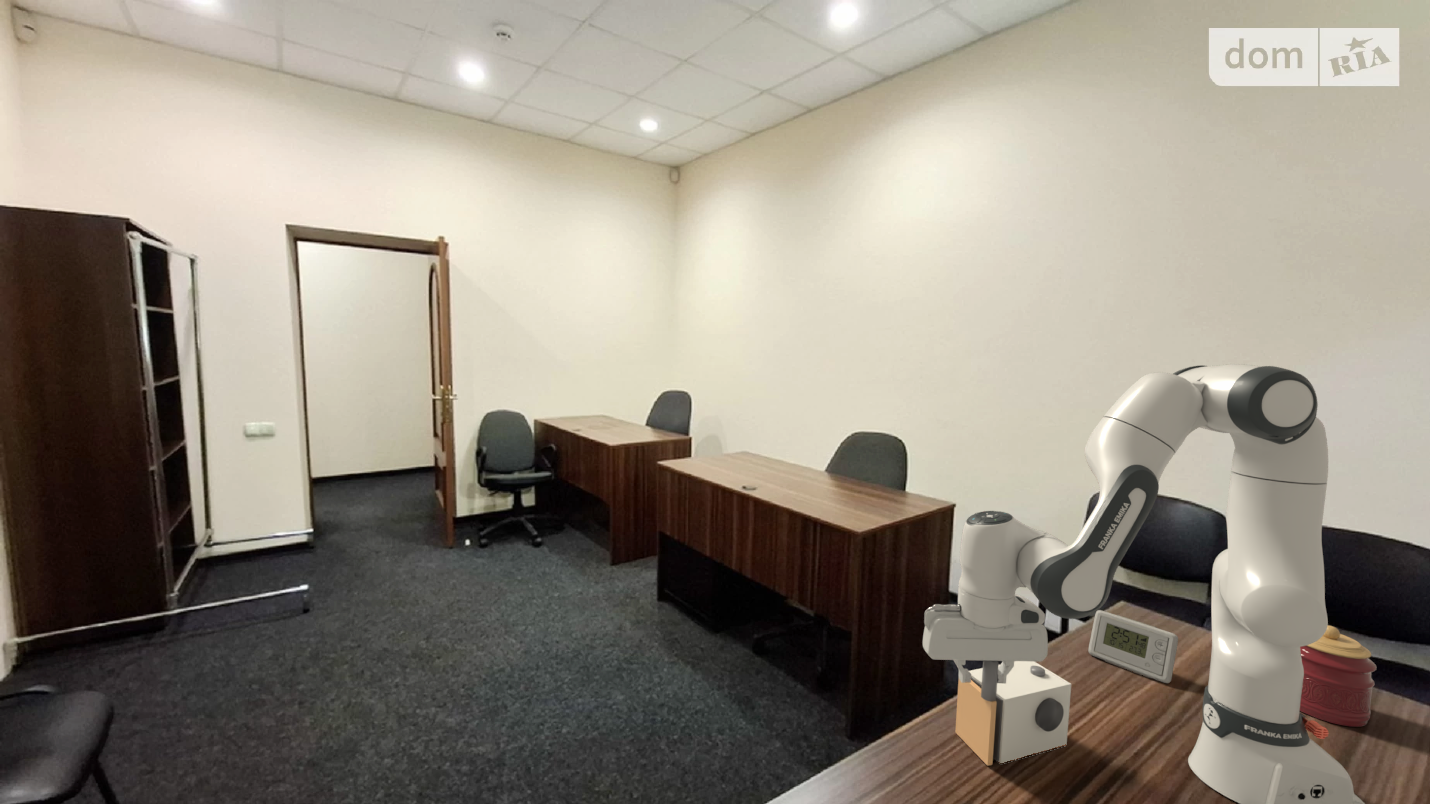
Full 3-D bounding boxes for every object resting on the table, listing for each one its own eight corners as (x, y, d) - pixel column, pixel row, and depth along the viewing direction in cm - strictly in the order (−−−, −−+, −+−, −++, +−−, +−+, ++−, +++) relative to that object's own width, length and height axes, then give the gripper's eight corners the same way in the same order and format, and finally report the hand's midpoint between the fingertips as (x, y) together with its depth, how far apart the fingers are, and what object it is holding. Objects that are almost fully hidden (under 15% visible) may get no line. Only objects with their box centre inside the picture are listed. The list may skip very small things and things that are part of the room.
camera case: (1025, 715, 112) (1029, 654, 111) (1071, 749, 102) (1076, 682, 101) (960, 731, 107) (964, 667, 105) (1003, 769, 97) (1008, 698, 96)
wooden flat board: (963, 731, 106) (969, 637, 105) (995, 764, 98) (1002, 662, 96) (952, 732, 106) (957, 638, 104) (983, 766, 97) (990, 664, 96)
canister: (1354, 703, 118) (1364, 622, 117) (1381, 737, 107) (1393, 649, 106) (1269, 682, 125) (1278, 606, 124) (1287, 712, 114) (1296, 629, 113)
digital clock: (1083, 654, 136) (1086, 611, 135) (1104, 645, 140) (1108, 604, 139) (1160, 690, 122) (1165, 643, 121) (1182, 680, 126) (1186, 634, 125)
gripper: (931, 612, 94) (928, 690, 95) (1055, 614, 93) (1050, 693, 95) (918, 596, 100) (916, 670, 101) (1034, 598, 100) (1030, 672, 101)
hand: (982, 681), depth 98 cm, fingers open, 5 cm apart
